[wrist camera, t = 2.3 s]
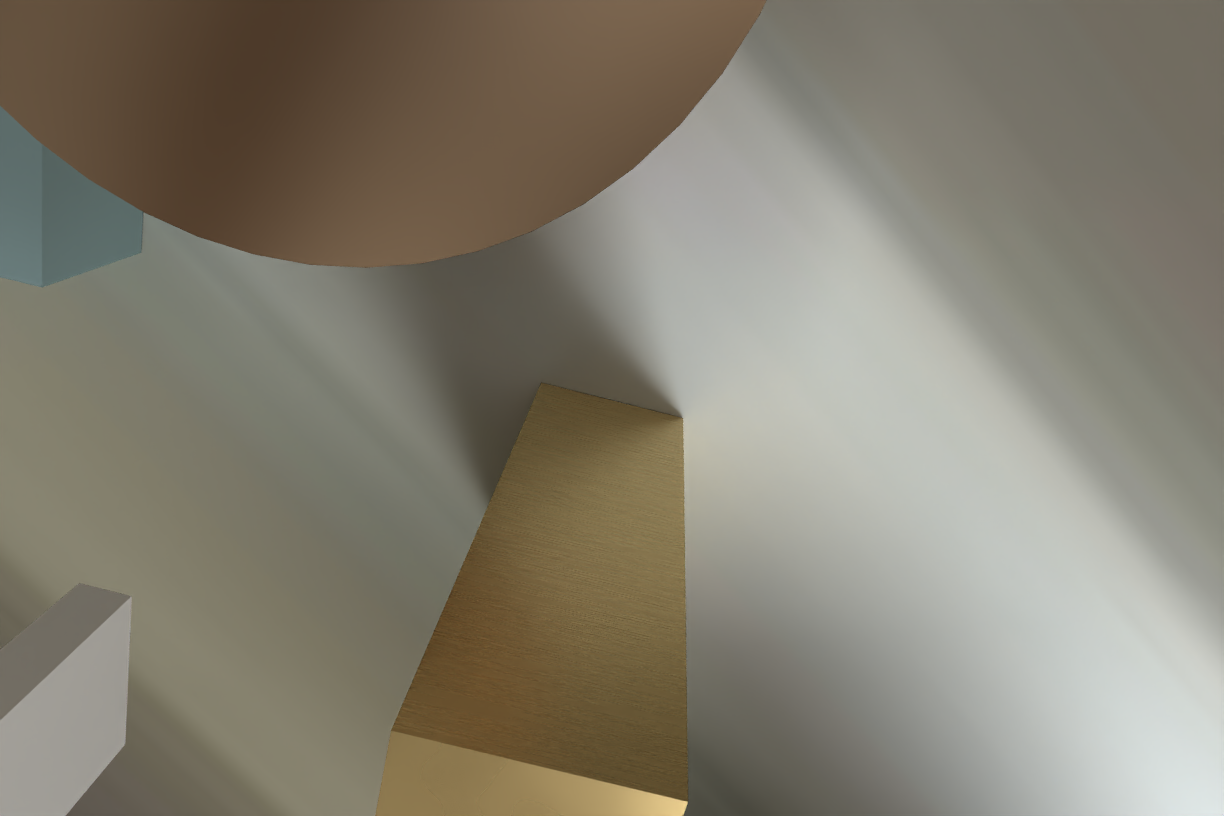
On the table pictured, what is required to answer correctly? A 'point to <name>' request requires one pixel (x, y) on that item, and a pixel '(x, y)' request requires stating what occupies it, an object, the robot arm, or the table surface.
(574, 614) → the tab
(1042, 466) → the table surface
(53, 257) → the notch board
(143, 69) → the spool
